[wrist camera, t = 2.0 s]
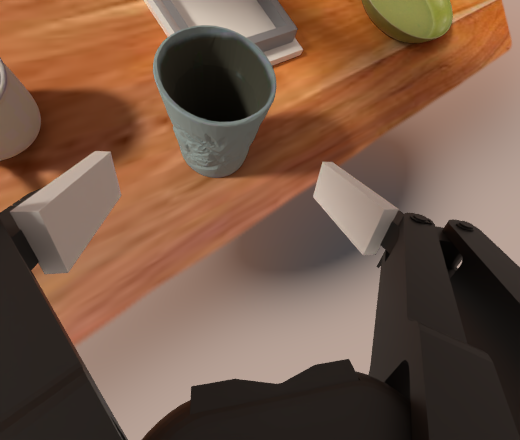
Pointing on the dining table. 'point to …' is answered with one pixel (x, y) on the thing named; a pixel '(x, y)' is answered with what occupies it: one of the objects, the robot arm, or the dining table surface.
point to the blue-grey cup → (214, 95)
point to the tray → (234, 22)
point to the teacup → (16, 115)
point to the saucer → (411, 18)
